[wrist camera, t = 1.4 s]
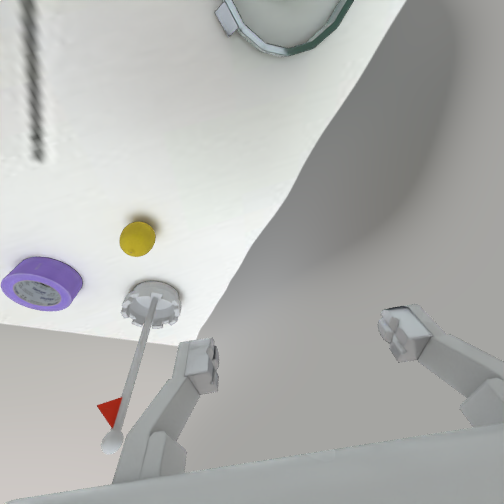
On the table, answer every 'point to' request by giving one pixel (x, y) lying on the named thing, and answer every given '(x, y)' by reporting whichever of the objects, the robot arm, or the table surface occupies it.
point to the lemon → (137, 239)
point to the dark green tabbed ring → (234, 22)
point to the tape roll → (35, 294)
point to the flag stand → (139, 346)
